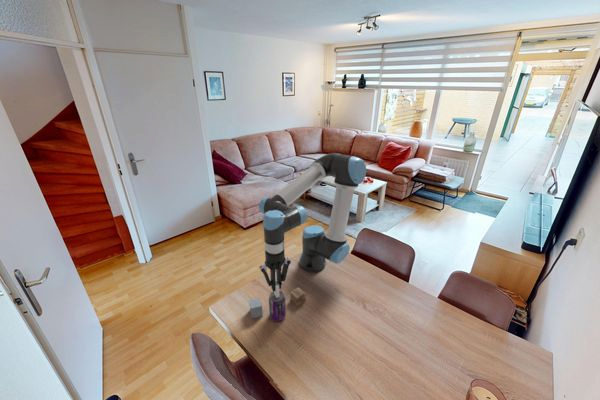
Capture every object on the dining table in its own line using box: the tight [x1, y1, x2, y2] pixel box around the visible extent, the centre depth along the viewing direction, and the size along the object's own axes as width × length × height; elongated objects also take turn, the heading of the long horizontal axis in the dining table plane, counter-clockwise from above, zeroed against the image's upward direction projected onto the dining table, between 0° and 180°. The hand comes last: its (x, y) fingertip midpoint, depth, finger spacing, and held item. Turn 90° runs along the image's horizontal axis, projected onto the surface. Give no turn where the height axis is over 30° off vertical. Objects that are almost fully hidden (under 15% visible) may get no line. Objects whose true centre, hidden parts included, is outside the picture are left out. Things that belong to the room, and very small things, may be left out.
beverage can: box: [268, 290, 287, 322], centre depth 111 cm, size 7×7×12 cm
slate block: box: [248, 297, 264, 319], centre depth 114 cm, size 5×5×6 cm
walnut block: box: [289, 287, 306, 307], centre depth 121 cm, size 5×5×5 cm
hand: (276, 295), depth 109 cm, fingers closed
